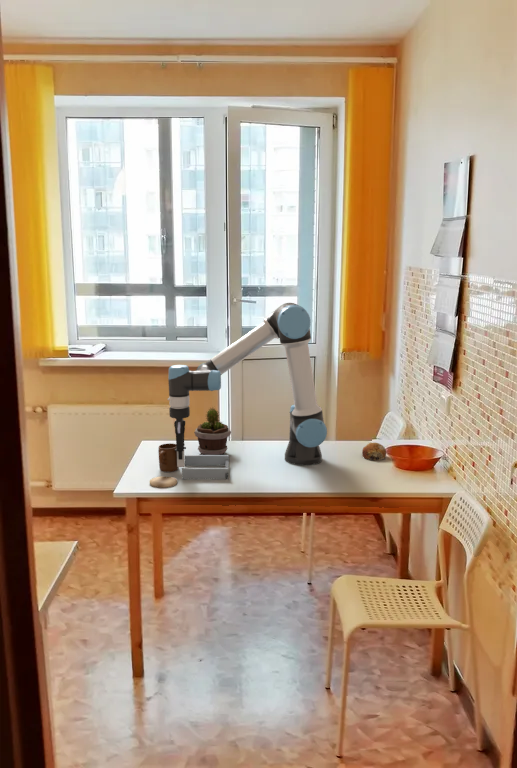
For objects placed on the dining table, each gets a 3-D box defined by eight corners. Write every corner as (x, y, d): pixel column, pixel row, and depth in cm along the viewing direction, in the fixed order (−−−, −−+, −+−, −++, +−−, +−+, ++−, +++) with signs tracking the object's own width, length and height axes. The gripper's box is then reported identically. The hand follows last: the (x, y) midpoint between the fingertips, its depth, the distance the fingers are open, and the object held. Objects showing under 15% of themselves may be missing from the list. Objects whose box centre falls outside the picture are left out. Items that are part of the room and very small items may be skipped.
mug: (170, 477, 246) (169, 452, 245) (151, 475, 248) (150, 451, 246) (182, 466, 258) (181, 443, 256) (164, 465, 260) (162, 442, 258)
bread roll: (387, 465, 276) (391, 447, 277) (379, 461, 267) (383, 442, 269) (365, 461, 281) (369, 443, 282) (356, 457, 272) (361, 438, 274)
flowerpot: (230, 459, 269) (230, 411, 265) (192, 458, 269) (192, 410, 265) (232, 448, 283) (232, 403, 279) (196, 448, 283) (196, 402, 279)
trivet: (178, 478, 246) (178, 476, 245) (176, 487, 236) (176, 485, 236) (151, 478, 245) (151, 476, 245) (147, 487, 235) (147, 485, 235)
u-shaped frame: (228, 464, 262) (228, 455, 261) (228, 479, 246) (228, 468, 245) (184, 464, 261) (184, 454, 261) (181, 479, 245) (181, 468, 244)
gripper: (170, 402, 254) (172, 461, 259) (167, 410, 241) (169, 472, 246) (190, 402, 254) (191, 461, 259) (188, 410, 241) (189, 472, 246)
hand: (180, 466), depth 252 cm, fingers closed
